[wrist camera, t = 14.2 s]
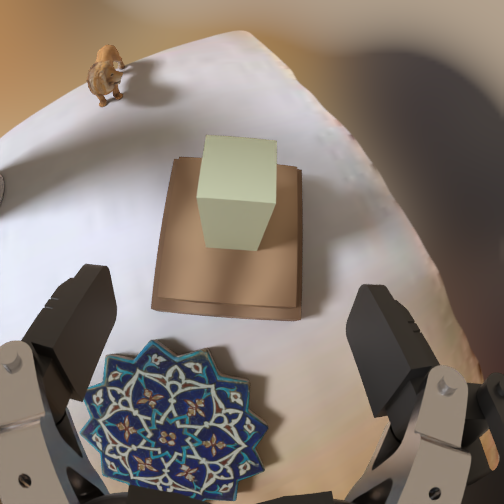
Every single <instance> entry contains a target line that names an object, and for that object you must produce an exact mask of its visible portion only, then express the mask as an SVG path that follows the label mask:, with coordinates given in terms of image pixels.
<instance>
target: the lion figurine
mask: <svg viewBox="0 0 504 504" xmlns="http://www.w3.org/2000/svg"><path fill="white" fill-rule="evenodd" d="M113 61H115V62H118V68H119V69H123V68H124V67H125V66H124V64H123V62H122V58H121V57H120V56H119V53H118V51H117V49H116V48H115V46H113V45H105V46H104V47H103V48H101V49H100V50H99V51H98V53H97V59H96V62H95V64H93V65H92V66H91V67H90V69H89V72H88V77H87V82H88V87H89V89H90V91H91V92H92V93H93V94H94V95H96V96H97V97H98V99H99V100H100V103H99V106H100V107H104V106H106V103H107V102H106V101H107V100H106V99H105V97H104V96H103V95H107V94H109V93H111V92H112V91H113V96H114V97H115V99H116V100H119V99H121V98H122V97H123V94H121V93H120V92H119V89H118V84H120V82H121V77H122V75H123V72H119V71H116V70H115V69H114V67H113Z"/></svg>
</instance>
